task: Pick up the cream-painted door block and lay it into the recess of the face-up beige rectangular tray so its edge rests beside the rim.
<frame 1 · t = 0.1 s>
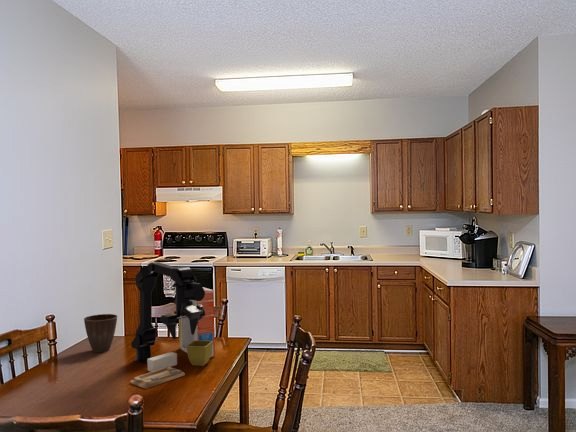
hand: (183, 336, 190), 15 cm above the table, fingers open, 9 cm apart
pasta box: (196, 352, 219), on the table
plant pot: (101, 350, 225), on the table
beige rectangular tray: (158, 379, 183), on the table
flower pot: (200, 364, 201), on the table
door: (162, 367, 198), on the table
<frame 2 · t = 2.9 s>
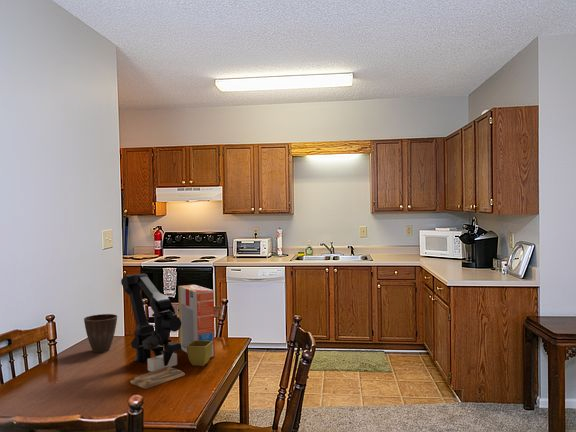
hand: (162, 364, 198), 1 cm above the table, fingers closed on door, 4 cm apart
door: (162, 367, 198), on the table, touching gripper
everything else where it was.
when the fingers open (3 cm above the table, at t = 7.5 s): door stays where it is, resting on beige rectangular tray.
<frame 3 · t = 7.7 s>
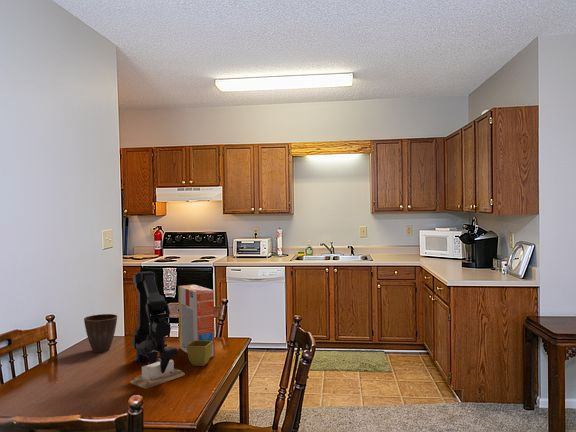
hand: (157, 371, 183), 3 cm above the table, fingers open, 6 cm apart
door: (158, 376, 184), point 1 cm above the table, touching beige rectangular tray
everything else where it was.
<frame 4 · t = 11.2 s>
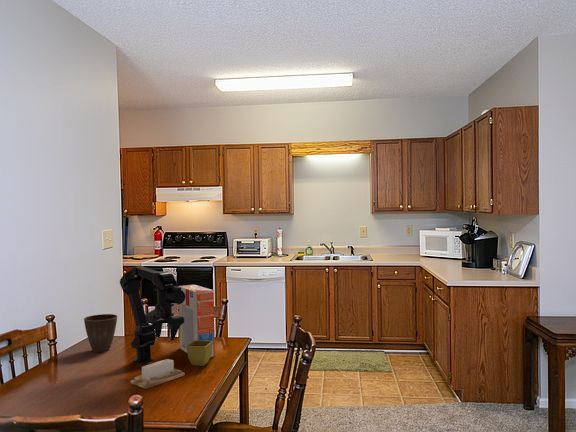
hand: (165, 338, 198), 12 cm above the table, fingers open, 9 cm apart
nothing on the table moved.
at the end: door 0.1 cm off-centre on the beige rectangular tray, point 1.0 cm above the beige rectangular tray's base; door tilted 0°; the gripper is holding nothing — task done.
